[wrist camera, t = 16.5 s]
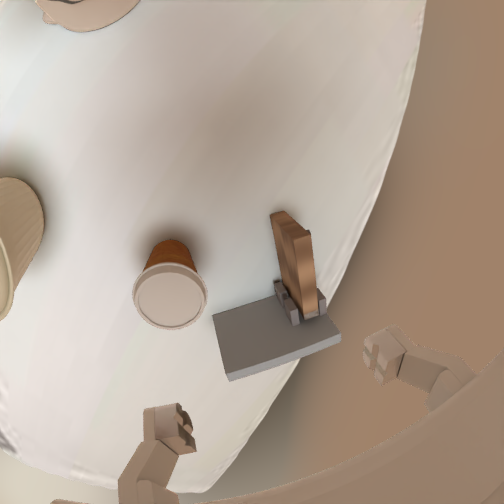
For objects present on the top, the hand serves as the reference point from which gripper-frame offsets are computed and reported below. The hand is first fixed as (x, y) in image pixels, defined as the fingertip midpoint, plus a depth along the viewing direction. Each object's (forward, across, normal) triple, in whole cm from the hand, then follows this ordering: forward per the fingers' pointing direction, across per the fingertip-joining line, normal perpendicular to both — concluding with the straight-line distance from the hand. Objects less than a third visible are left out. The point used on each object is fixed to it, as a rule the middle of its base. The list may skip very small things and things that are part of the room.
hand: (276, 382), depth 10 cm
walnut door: (+33, -10, +14) cm, 37 cm away
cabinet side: (+33, -4, +22) cm, 40 cm away
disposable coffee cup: (+33, +8, +9) cm, 35 cm away
